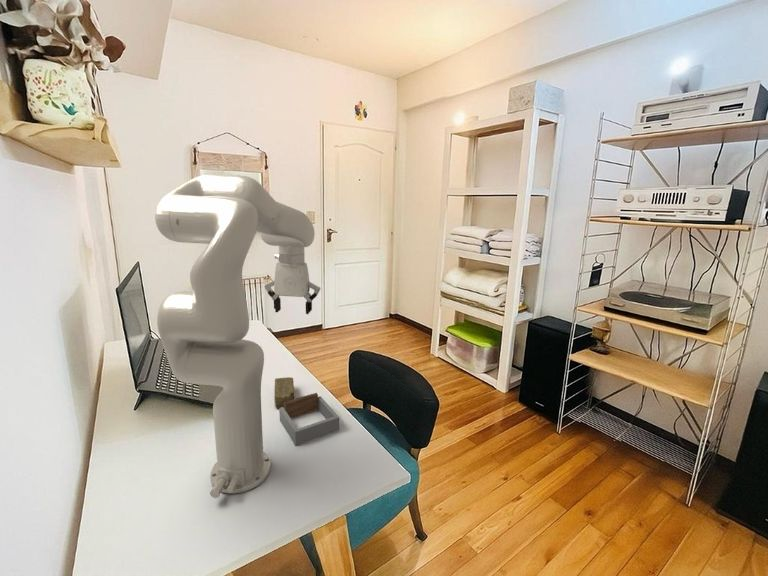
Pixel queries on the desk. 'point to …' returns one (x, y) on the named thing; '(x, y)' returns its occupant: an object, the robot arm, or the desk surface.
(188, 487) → the desk surface
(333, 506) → the desk surface
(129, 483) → the desk surface
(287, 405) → the wooden board
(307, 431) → the grey open square tray
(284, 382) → the stone block
